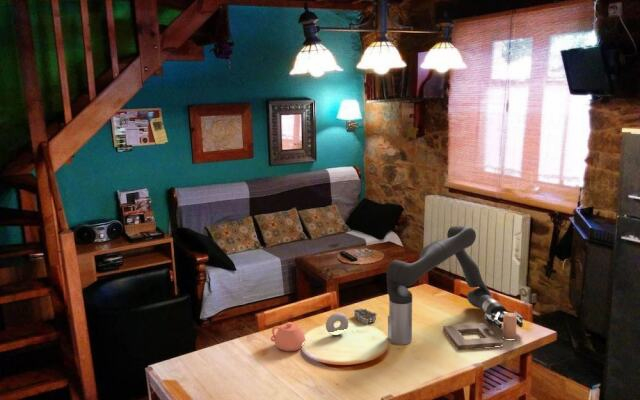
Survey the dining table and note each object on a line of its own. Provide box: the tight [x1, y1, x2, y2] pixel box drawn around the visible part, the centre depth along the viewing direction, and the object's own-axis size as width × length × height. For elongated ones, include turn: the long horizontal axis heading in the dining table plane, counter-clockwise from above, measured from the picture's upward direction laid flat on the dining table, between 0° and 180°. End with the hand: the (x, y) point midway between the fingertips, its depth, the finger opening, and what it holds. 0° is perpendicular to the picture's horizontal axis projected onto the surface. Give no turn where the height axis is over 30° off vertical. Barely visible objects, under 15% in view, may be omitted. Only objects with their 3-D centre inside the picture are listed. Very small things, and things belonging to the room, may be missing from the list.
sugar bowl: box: [270, 321, 306, 352], centre depth 210 cm, size 12×14×10 cm
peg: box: [502, 312, 517, 340], centre depth 213 cm, size 5×5×10 cm
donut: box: [325, 312, 349, 333], centre depth 219 cm, size 10×4×10 cm, turn 109°
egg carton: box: [352, 308, 378, 325], centre depth 235 cm, size 11×8×4 cm
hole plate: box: [442, 322, 504, 351], centre depth 214 cm, size 18×18×2 cm
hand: (511, 325), depth 211 cm, fingers open, 8 cm apart
